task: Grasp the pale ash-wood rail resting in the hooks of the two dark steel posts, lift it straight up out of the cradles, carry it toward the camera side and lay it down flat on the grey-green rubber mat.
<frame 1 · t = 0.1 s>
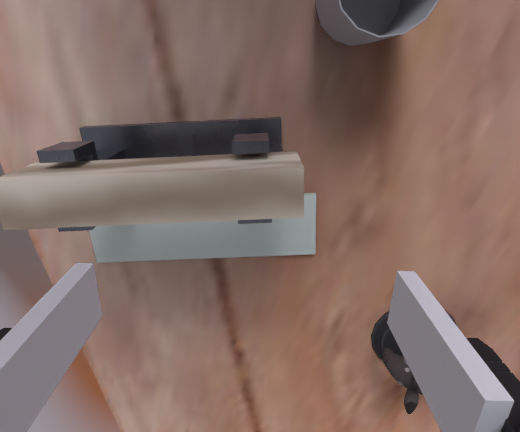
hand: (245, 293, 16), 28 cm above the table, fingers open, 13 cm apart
rail: (167, 178, 33), point 9 cm above the table, touching rack
rack: (186, 157, 42), on the table
figurine: (411, 334, 51), on the table
mat: (202, 227, 45), on the table
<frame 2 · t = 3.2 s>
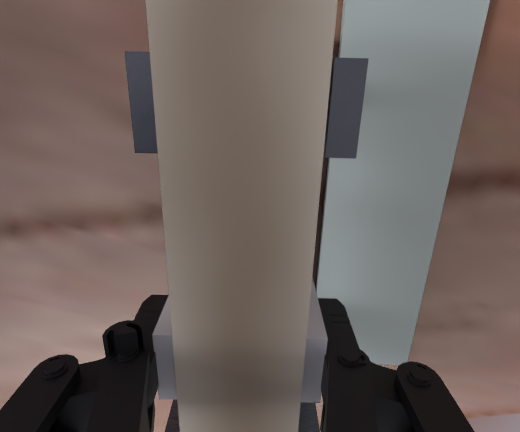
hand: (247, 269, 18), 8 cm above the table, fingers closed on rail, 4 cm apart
rail: (246, 278, 17), point 9 cm above the table, touching gripper, rack
rack: (251, 210, 25), on the table
mat: (381, 200, 25), on the table
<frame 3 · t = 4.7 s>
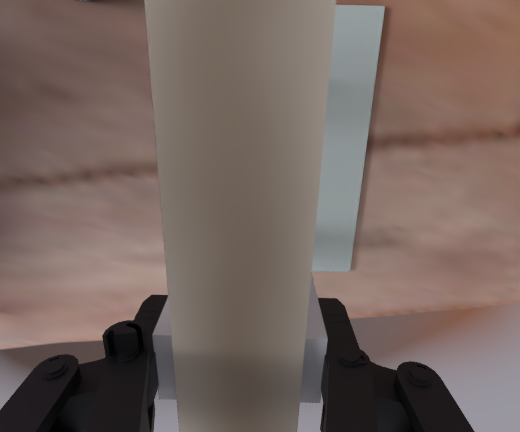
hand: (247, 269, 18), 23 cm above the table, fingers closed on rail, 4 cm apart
rail: (246, 278, 17), point 24 cm above the table, touching gripper
mat: (326, 155, 39), on the table
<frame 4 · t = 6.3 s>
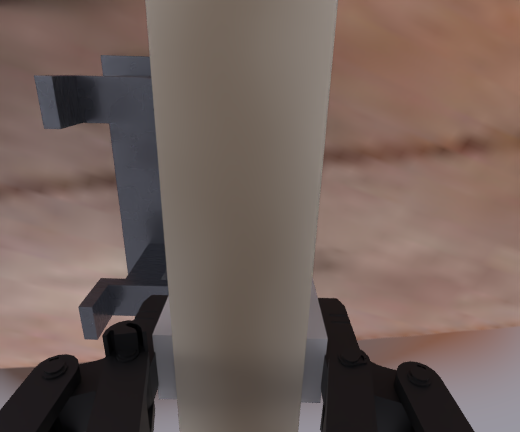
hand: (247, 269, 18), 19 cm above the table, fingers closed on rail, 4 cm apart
rail: (246, 279, 17), point 20 cm above the table, touching gripper
rack: (161, 179, 36), on the table
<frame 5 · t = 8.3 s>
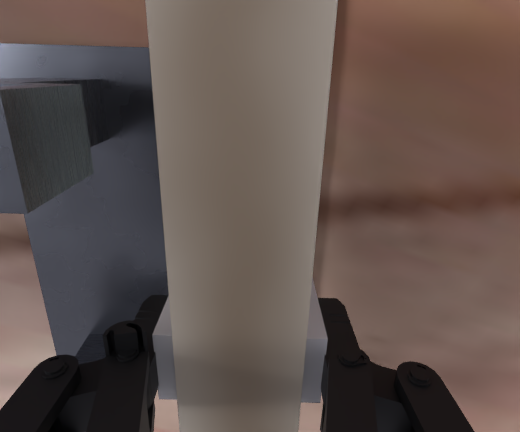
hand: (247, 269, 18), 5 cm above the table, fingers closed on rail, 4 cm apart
rail: (246, 279, 17), point 6 cm above the table, touching gripper
rack: (106, 238, 23), on the table
when the fingers open (2 cm above the table, at t = 9.8 s): rail drops 2 cm, resting on mat.
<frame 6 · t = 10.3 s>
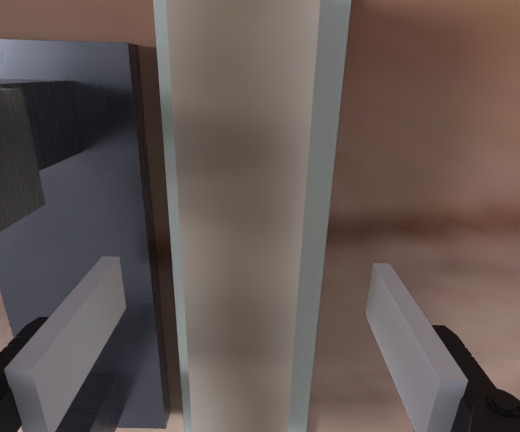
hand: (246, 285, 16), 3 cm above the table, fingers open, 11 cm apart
rail: (246, 257, 19), point 1 cm above the table, touching mat
rack: (84, 264, 20), on the table
mat: (248, 252, 19), on the table
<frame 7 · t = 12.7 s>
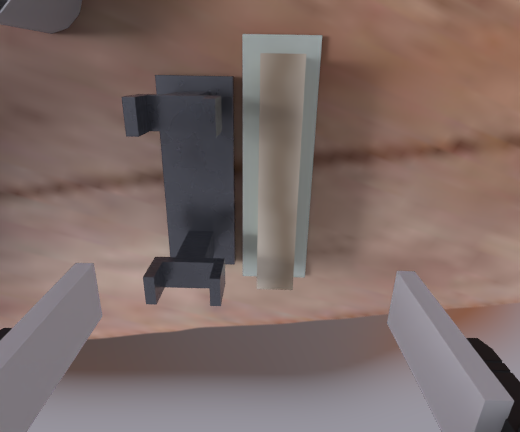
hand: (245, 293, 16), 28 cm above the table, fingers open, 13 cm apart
rail: (276, 170, 41), point 1 cm above the table, touching mat
rack: (200, 176, 42), on the table
mat: (277, 169, 42), on the table
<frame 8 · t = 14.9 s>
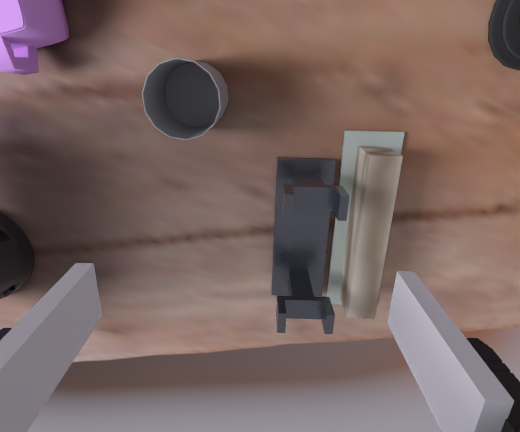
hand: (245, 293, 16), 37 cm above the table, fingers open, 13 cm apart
rail: (361, 226, 54), point 1 cm above the table, touching mat
rack: (300, 229, 55), on the table
cup: (197, 95, 48), on the table
mat: (360, 225, 54), on the table
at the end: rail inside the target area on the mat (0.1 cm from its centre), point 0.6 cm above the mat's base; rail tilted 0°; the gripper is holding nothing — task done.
